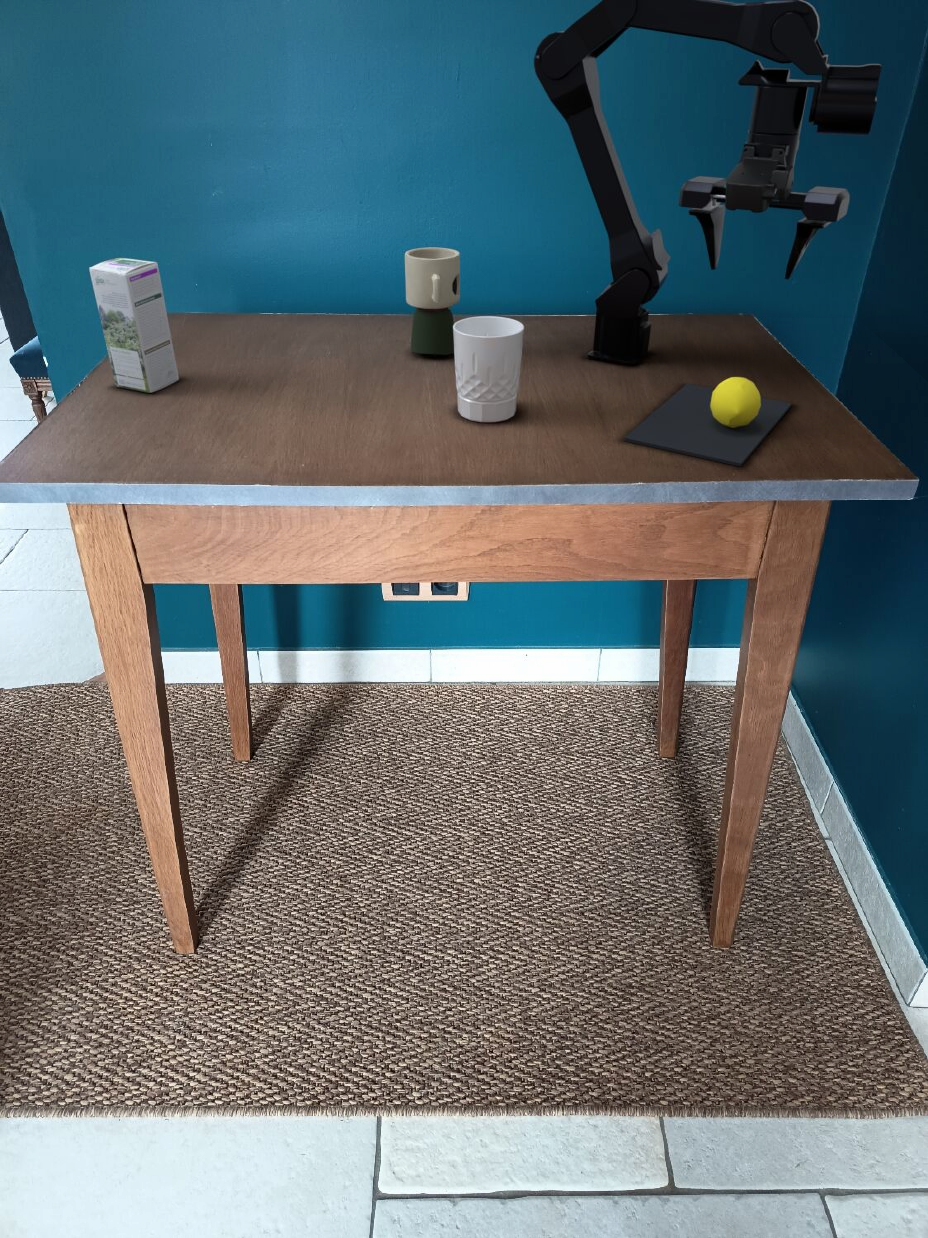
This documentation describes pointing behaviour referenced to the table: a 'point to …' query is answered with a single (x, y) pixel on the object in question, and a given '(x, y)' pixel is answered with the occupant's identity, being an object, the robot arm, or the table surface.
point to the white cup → (487, 367)
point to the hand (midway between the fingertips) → (749, 273)
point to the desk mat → (705, 427)
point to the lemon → (735, 402)
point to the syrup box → (135, 323)
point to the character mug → (432, 297)
